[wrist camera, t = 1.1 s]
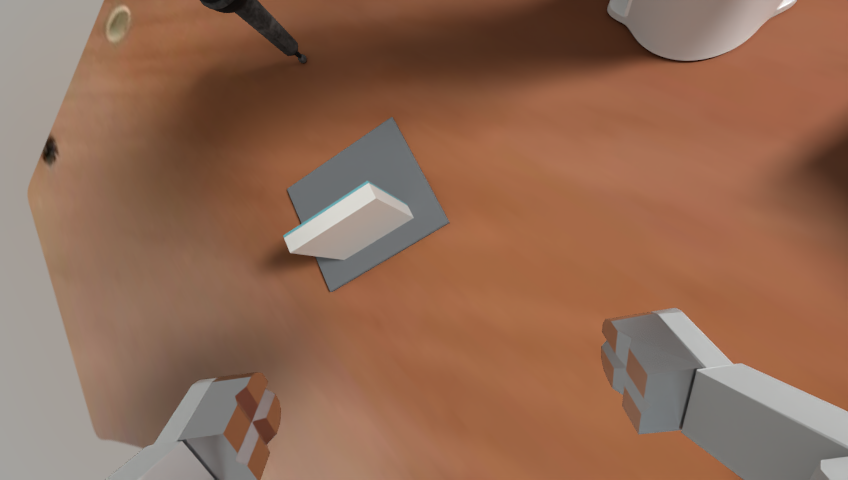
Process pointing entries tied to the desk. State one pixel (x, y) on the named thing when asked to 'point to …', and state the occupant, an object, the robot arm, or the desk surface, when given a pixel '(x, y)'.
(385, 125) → the mat
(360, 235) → the tile
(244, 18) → the microphone
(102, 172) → the desk surface
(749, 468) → the robot arm
